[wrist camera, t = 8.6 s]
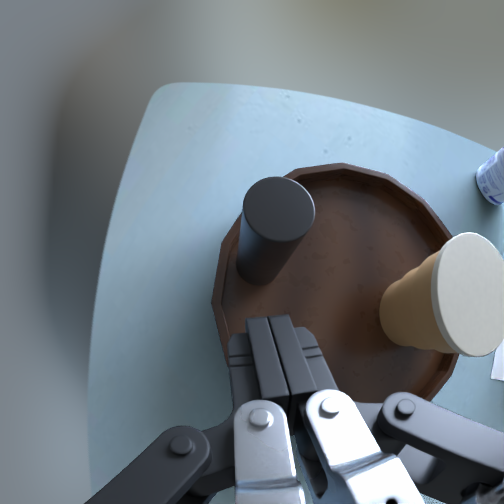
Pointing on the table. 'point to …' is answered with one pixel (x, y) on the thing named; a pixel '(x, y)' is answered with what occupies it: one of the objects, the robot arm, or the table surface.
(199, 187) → the table surface
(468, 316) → the paper cups
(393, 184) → the tray
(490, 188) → the energy drink
